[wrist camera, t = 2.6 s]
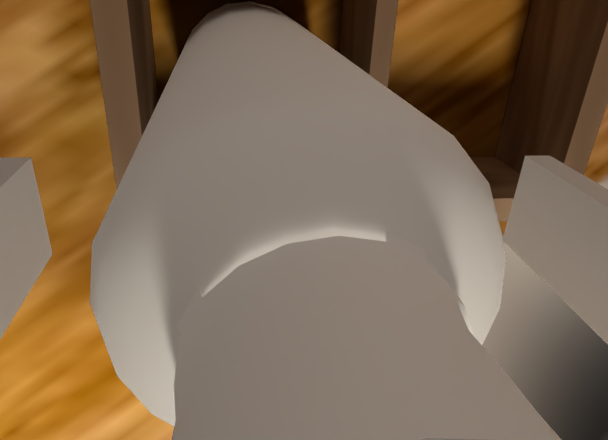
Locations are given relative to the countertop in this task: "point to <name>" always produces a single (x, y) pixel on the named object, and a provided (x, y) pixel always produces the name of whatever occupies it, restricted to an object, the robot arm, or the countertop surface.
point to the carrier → (376, 62)
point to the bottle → (302, 254)
